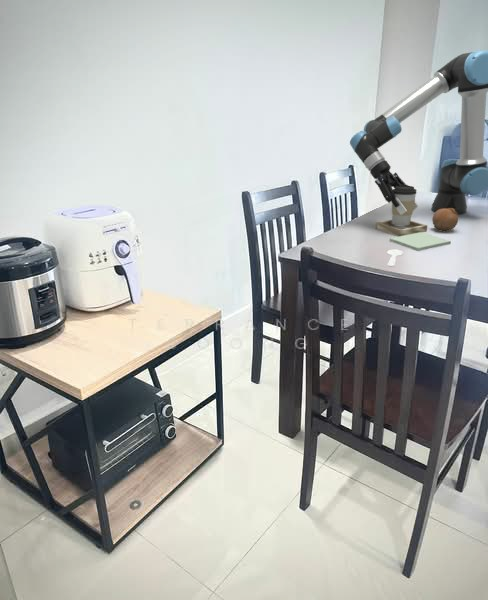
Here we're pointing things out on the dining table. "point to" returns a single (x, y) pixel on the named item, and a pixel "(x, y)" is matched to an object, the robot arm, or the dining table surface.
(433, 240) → the mat
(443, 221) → the onion
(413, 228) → the picture frame
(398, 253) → the spoon
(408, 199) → the coffee cup
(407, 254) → the dining table surface
